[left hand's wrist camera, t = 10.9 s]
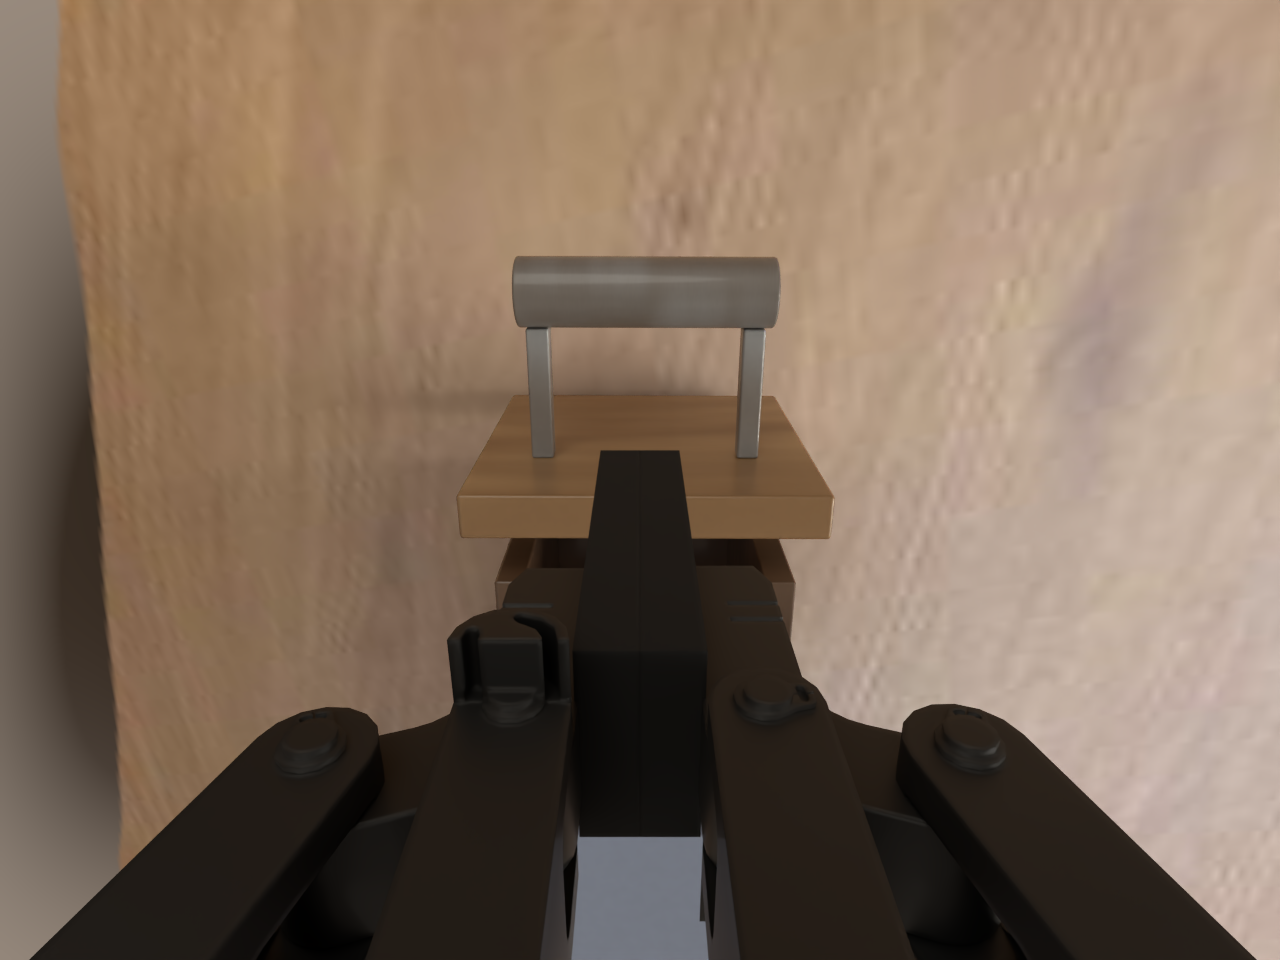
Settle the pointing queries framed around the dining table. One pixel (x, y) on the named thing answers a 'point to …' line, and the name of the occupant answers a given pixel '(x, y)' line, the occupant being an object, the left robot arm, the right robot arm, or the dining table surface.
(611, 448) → the drawer
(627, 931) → the cabinet
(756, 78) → the dining table surface
